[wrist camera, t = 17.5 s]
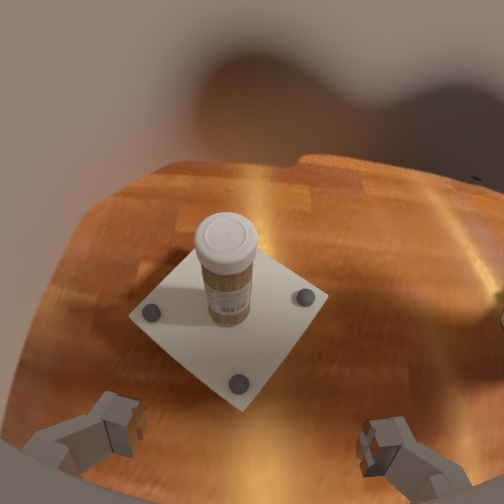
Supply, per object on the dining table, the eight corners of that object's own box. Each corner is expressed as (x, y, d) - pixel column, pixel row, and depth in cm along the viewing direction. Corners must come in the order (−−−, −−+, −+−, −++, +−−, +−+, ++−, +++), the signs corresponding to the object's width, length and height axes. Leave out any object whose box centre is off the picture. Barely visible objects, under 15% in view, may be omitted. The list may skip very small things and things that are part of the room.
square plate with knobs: (221, 252, 45) (219, 221, 39) (316, 316, 40) (330, 293, 34) (143, 334, 37) (126, 313, 31) (241, 414, 33) (242, 411, 27)
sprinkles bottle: (250, 290, 34) (258, 210, 23) (249, 329, 32) (257, 263, 21) (209, 288, 34) (197, 208, 23) (205, 327, 32) (189, 260, 21)
